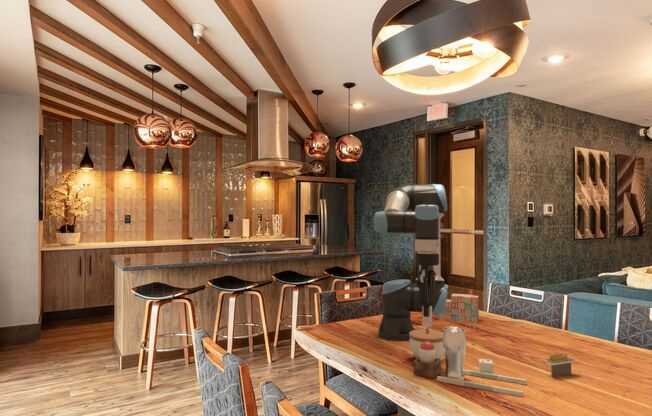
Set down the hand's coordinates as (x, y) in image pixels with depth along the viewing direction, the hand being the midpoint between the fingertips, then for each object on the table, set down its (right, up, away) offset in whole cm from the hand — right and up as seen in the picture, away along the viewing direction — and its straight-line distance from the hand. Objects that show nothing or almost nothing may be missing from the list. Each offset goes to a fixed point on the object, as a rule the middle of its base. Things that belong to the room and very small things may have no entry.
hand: (427, 326), depth 139 cm
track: (+14, -15, -8) cm, 22 cm away
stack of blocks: (+31, -17, +73) cm, 81 cm away
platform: (+42, -16, -1) cm, 45 cm away
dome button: (0, -12, 0) cm, 12 cm away
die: (+19, -15, -1) cm, 24 cm away
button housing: (0, -15, 0) cm, 15 cm away
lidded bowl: (+3, -16, +12) cm, 20 cm away
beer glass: (+7, -15, -4) cm, 17 cm away
